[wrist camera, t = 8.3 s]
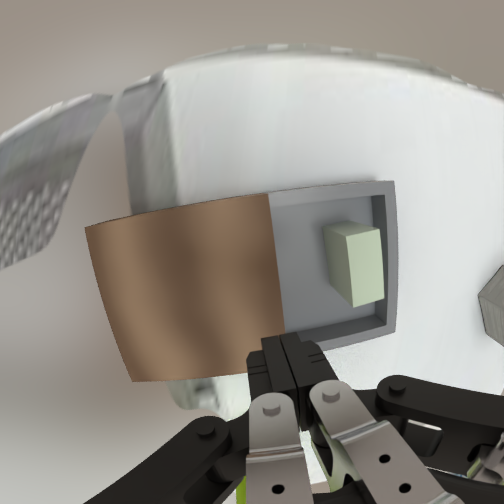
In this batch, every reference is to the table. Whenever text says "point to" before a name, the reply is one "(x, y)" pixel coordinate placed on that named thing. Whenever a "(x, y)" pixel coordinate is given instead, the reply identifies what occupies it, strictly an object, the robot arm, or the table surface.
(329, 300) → the box
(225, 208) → the brown flat square block
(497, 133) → the table surface
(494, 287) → the skincare box
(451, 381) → the table surface
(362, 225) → the tile
